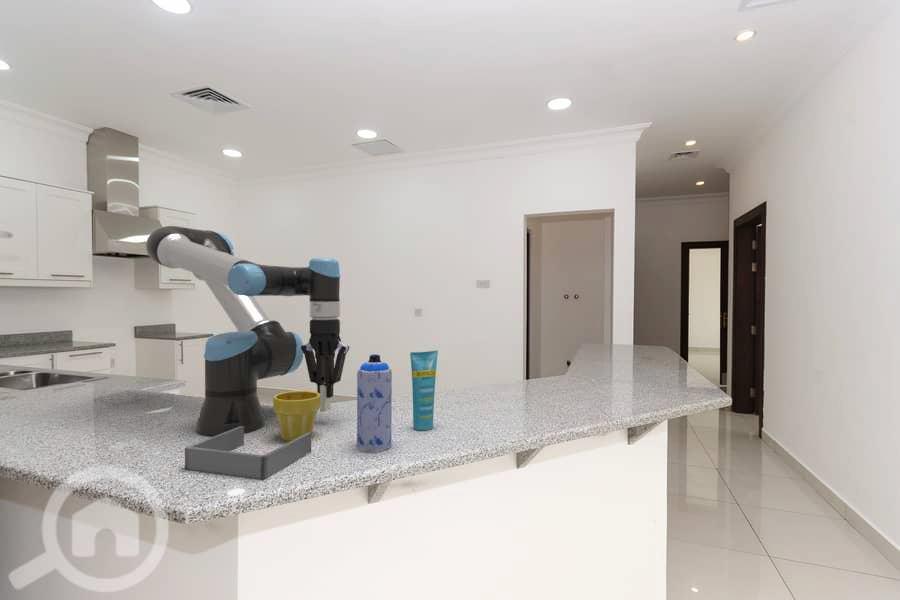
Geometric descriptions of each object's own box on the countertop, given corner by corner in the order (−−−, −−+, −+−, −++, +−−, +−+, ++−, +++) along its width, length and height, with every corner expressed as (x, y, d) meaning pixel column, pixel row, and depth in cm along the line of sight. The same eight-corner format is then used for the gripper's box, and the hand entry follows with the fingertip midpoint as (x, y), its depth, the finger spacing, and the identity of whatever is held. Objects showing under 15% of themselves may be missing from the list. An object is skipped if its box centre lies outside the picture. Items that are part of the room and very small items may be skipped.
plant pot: (328, 436, 106) (328, 395, 106) (285, 447, 99) (286, 402, 99) (306, 427, 113) (306, 388, 113) (265, 436, 106) (265, 394, 106)
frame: (184, 468, 86) (184, 447, 86) (240, 443, 101) (241, 425, 101) (264, 479, 81) (264, 457, 81) (311, 451, 96) (311, 432, 96)
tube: (415, 432, 110) (415, 353, 109) (405, 427, 114) (406, 350, 113) (441, 427, 114) (441, 351, 113) (431, 423, 118) (431, 349, 118)
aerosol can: (398, 447, 99) (399, 355, 99) (365, 455, 94) (365, 358, 94) (382, 438, 105) (382, 351, 105) (350, 444, 101) (350, 354, 100)
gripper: (294, 319, 115) (294, 412, 115) (340, 319, 112) (341, 415, 112) (310, 317, 123) (311, 405, 123) (354, 318, 119) (355, 408, 119)
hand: (325, 409), depth 117 cm, fingers closed
